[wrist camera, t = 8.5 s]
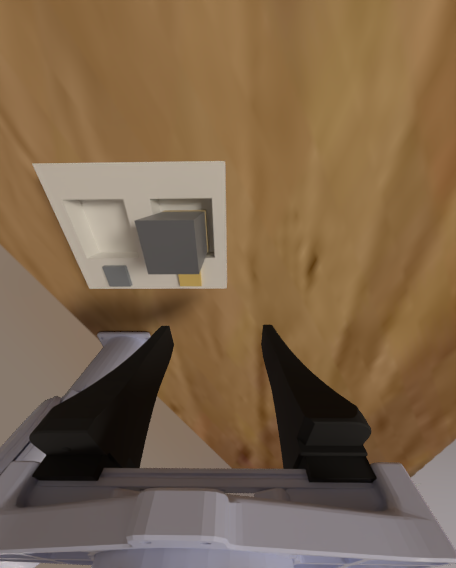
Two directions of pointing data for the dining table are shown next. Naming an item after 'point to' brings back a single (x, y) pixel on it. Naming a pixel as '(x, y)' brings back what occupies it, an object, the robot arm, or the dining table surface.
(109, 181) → the sorting tray
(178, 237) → the plug
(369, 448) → the dining table surface
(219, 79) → the dining table surface
